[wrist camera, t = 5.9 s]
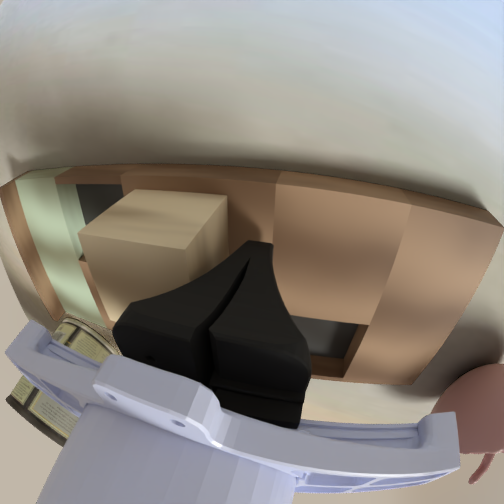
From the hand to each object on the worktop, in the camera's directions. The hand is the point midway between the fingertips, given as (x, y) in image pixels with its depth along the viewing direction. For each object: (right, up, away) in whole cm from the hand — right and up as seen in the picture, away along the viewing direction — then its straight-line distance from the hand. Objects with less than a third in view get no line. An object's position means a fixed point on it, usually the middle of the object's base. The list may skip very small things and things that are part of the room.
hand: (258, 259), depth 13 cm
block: (-4, +1, +1) cm, 4 cm away
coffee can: (-21, -12, +17) cm, 29 cm away
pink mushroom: (+21, -12, +6) cm, 25 cm away
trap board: (-3, -1, +5) cm, 6 cm away
